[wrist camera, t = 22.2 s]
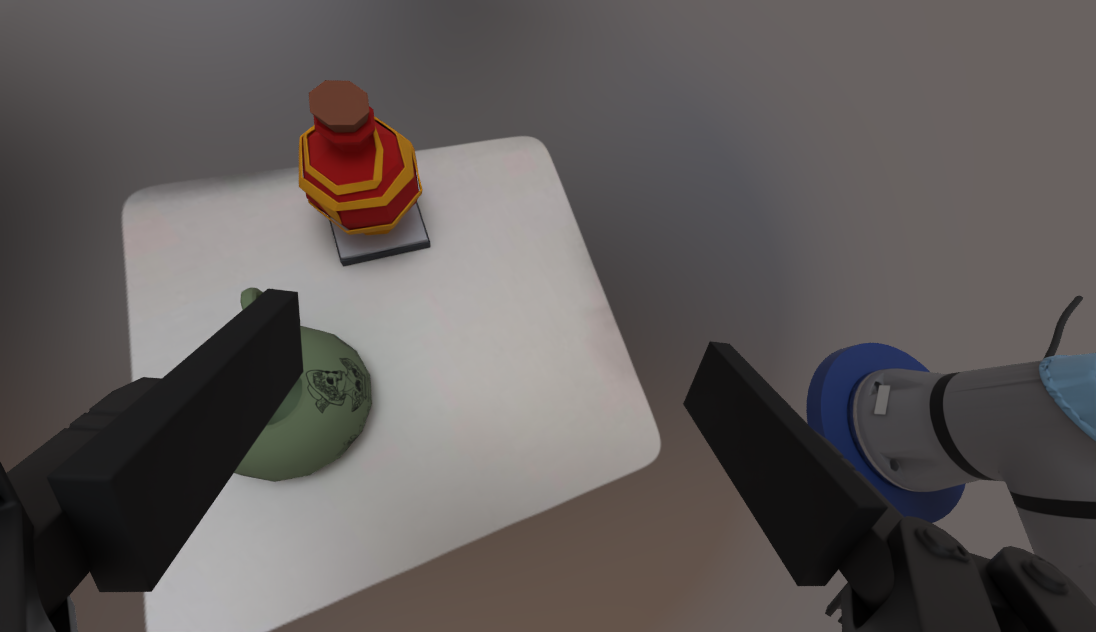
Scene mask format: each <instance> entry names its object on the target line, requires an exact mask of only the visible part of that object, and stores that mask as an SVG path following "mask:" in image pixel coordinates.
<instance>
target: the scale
mask: <svg viewBox="0 0 1096 632" xmlns="http://www.w3.org/2000/svg"><path fill="white" fill-rule="evenodd" d="M328 217H329V218H331V217H330V216H328ZM331 219H332V220H333V221H334V222H336V223H337V224H338V225H339V226H341V227H342V228H343V229H345V230H346V231H348V229H347V228H345V227H344V226H343V225H341V224H340V223H338V222H337V221H335V220H334V219H333V218H331ZM330 224H331V228H332V232H333V235H334V239H335V243H336V247H337V250H338V254H339V258H340V262H341V263H342V265H343V266H346V265H351V264H355V263H360V262H365V261H369V260H374V259H378V258H383V257H387V256H392V255H396V254H401V253H405V252H410V251H415V250H419V249H424V248H428V247H430V241H429V238H428V234H427V231H426V228H425V225H424V222H423V219H422V216H421V213H420V210H419V206H418V203H417V202H416V203H415V204H414V205H413V206H412V207H411V208H410V210H409V211H408V212H407V213H406V214H405V215H404V216H403V217H402V218H401V220H400V221H399V222H398V223H397V224H396V226H395V227H394V228H393V229H392V230H391V231H390V232H389V233H388V234H377V235H365V234H364V233H360V234H352V235H349V234H347V233H346V232H344V231H343V230H342V229H341V228H339V227H338V226H337V225H336V224H334V223H333V222H332V221H330Z"/></svg>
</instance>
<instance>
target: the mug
mask: <svg viewBox="0 0 1096 632" xmlns="http://www.w3.org/2000/svg"><path fill="white" fill-rule="evenodd" d="M262 293H263V292H262V291H260V290H259V289H257V288H248V289H246V290H244V291H243V292H242V293H241V305H242V309H243V310H244V309H245V308H246V307H247V306H248V305H249V304H251V303H252V302H253V301H254V300H255V299H257V298H258V297H259V296H260V295H261V294H262ZM300 330H301V343H302V357H303V370H304V372H303V373H302V374H301V376H300V377H299V379H298V380H297V382H296V383H295V385H294V386H293V388H292V389H291V390H290V392H289V393H288V395H287V396H286V398H285V399H284V401H283V402H282V403H281V405H280V406H279V408H278V409H277V411H276V412H275V414H274V415H273V417H272V418H271V419H270V421H269V422H268V424H267V425H266V427H265V428H264V430H263V431H262V432H261V434H260V435H259V437H258V438H257V440H256V441H255V443H254V444H253V445H252V447H251V448H250V450H249V451H248V453H247V454H246V456H245V457H244V459H243V460H242V461H241V463H240V464H239V466H238V467H237V469H236V470H235V472H234V473H236V474H239V475H243V476H248V477H253V478H258V479H263V480H269V481H274V482H276V481H281V480H286V479H292V478H297V477H303V476H308V475H311V474H312V473H314V472H316V471H318V470H319V469H321V468H323V467H324V466H326V465H328V464H329V463H331V462H333V461H335V460H336V459H338V458H340V457H341V455H342V454H343V453H344V452H345V451H346V450H347V448H348V447H349V446H350V445H351V444H352V443H353V441H354V440H355V439H356V438H357V437H358V435H359V434H360V433H361V432H362V430H363V427H364V424H365V421H366V419H367V416H368V413H369V410H370V407H371V404H372V401H371V386H370V374H369V373H368V371H367V369H366V367H365V365H364V363H363V362H362V360H361V358H360V356H359V354H358V353H357V351H356V350H354V349H353V348H352V347H350V346H349V345H348V344H346V343H345V342H344V341H342V340H341V339H340V338H338V337H337V336H336V335H334V334H331V333H327V332H323V331H319V330H315V329H311V328H307V327H303V326H300Z"/></svg>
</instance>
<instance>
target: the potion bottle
mask: <svg viewBox="0 0 1096 632" xmlns="http://www.w3.org/2000/svg"><path fill="white" fill-rule="evenodd" d="M309 103H310V112H311V113H312V114H313V115H314V126H313V127H311V128H310V129H309V130H308V131H306V132H305V133H304V134H303V135H301V136H300V141H299V187H300V188H301V189H302V190H303V191H305V192H306V197H307V199H308V203H310V204H311V205H312V206H313V207H314V208H315V209H317V210H318V211H319V212H320V213H322V214H323V215H324V216H325V217H327V218H328V219H329V220H330V221H332V222H333V223H334V224H336V225H337V226H338V227H339V228H341V229H342V230H343V231H344V232H346V233H347V234H349V235H352V234H360V233H364V234H365V235H377V234H388V233H389V232H390V231H391V230H392V229H393V228H394V227H395V226H396V224H397V223H398V222H399V221H400V220H401V218H402V217H403V216H404V215H405V214H406V213H407V212H408V211H409V210H410V208H411V207H412V206H413V205H414V204H415V203H416V202H417V199H418V198H419V196H420V195H421V194H422V186H421V182H420V178H419V174H418V168H417V162H416V156H415V150H414V148H413V146H412V144H411V142H410V141H409V140H407V139H406V138H405V137H403V136H402V135H401V134H399V133H398V132H397V131H396V130H394V129H393V128H391V127H389V126H388V125H387V124H385V123H384V122H382V121H380V120H379V119H378V118H376V117H374V112H373V109H372V108H371V107H369V103H368V95H367V93H366V92H364V91H363V90H361V89H360V88H359V87H357V86H356V85H354V84H353V83H352V82H350V81H329V80H328V81H327V80H325V81H324V82H323V83H321V84H320V85H319V86H317V87H316V88H315V89H313V90H312V91H311V92H309ZM302 159H303V175H304V178H303V175H302ZM416 172H417V175H416ZM417 176H418V182H419V188H420V191H419V189H418V182H417ZM319 209H320V210H319ZM322 211H323V212H324V213H325V214H324V213H323V212H322ZM326 214H327V215H328V216H330V217H331V218H333V219H334V220H335V221H337V222H338V223H340V224H341V225H343V226H344V227H345V228H347V229H348V231H346V230H345V229H343V228H342V227H341V226H339V225H338V224H337V223H336V222H334V221H333V220H332V219H331V218H329V217H328V216H327V215H326Z"/></svg>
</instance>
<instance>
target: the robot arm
mask: <svg viewBox="0 0 1096 632" xmlns="http://www.w3.org/2000/svg"><path fill="white" fill-rule="evenodd" d="M1082 299H1083V297H1081V296H1077V297H1075V298H1074V300H1073V301H1072V302H1071V303H1070V304H1069V306H1068V307H1067V308H1066V309H1065V311H1064V312H1063V313H1062V315H1061V317H1060V319H1059V321H1058V323H1057V326H1056V328H1055V332H1054V335H1053V339H1052V342H1051V344H1050V347H1049V349H1048V351H1047V353H1046V355H1045V357H1044V359H1043V361H1036V362H1029V363H1021V364H1014V365H1008V366H1000V367H993V368H985V369H978V370H971V371H965V372H958V373H951V374H939V373H931V372H923V371H915V370H907V369H882V370H877V371H872V372H869V373H867V374H865V375H863V376H862V377H861V378H860V379H858V381H857V382H856V383H855V384H854V386H853V388H852V390H851V392H850V395H849V399H848V406H847V418H848V425H849V430H850V434H851V437H852V440H853V442H854V445H855V447H856V449H857V451H858V453H859V455H860V456H861V458H862V459H863V461H864V462H865V463H866V465H867V466H868V467H869V468H870V470H871V471H872V472H873V473H874V474H875V475H876V476H878V477H879V478H880V479H881V480H883V481H884V482H885V483H887V484H889V485H891V486H893V487H895V488H897V489H901V490H905V491H915V492H931V491H938V490H942V489H945V488H949V487H953V486H957V485H961V484H965V483H969V482H973V481H977V480H995V481H996V480H997V481H1005V482H1006V484H1007V487H1008V489H1009V491H1010V493H1011V496H1012V498H1013V501H1014V504H1015V505H1016V508H1017V510H1018V513H1019V516H1020V518H1021V520H1022V523H1023V526H1024V528H1025V531H1026V533H1027V536H1028V538H1029V541H1030V544H1031V546H1032V549H1033V551H1034V553H1035V555H1034V554H1032V553H1030V552H1028V551H1026V550H1023V549H1020V548H1016V547H1012V546H1009V547H1004V548H1003V549H1002V550H1000V552H998V553H997V554H996V555H995V556H994V557H993V558H992V559H987V558H984V557H981V556H977V555H975V554H971V553H969V552H968V551H967V550H966V549H965V548H964V547H963V546H962V545H961V544H960V543H959V542H958V541H957V540H956V539H955V538H953V537H952V536H951V535H949V534H948V533H947V532H946V531H944V530H943V529H941V528H939V527H937V526H936V525H934V524H932V523H931V522H928V521H926V520H923V519H921V518H918V517H911V516H906V517H904V516H903V515H902V514H901V513H900V512H899V511H898V510H897V509H896V508H895V507H894V506H893V505H892V504H891V503H890V502H889V501H888V500H887V499H886V498H885V497H884V496H883V495H882V494H881V493H880V492H879V491H878V490H877V489H876V488H875V487H874V486H873V485H872V484H871V483H870V482H869V481H868V480H867V479H866V478H865V477H864V476H863V475H862V474H861V473H860V472H859V471H856V468H855V467H854V466H853V464H852V463H851V462H850V461H849V460H848V459H844V455H843V454H842V453H841V452H840V451H839V450H838V449H837V448H836V447H835V446H834V445H833V444H832V443H831V442H830V441H828V440H827V439H826V438H824V437H823V436H821V435H820V434H819V433H817V432H816V431H814V430H813V429H812V428H811V427H810V426H809V425H808V424H807V423H806V422H805V421H804V420H803V419H802V418H801V417H800V416H799V415H798V414H797V413H796V412H795V411H794V410H793V409H792V408H791V407H790V406H789V405H788V403H787V402H786V401H785V400H784V399H783V398H781V396H780V395H779V394H778V393H777V392H776V391H775V390H774V389H773V388H772V387H771V386H770V385H769V384H768V383H767V382H766V381H765V380H764V379H763V378H762V377H761V376H760V375H759V374H758V373H757V372H756V371H755V370H754V369H753V368H752V367H751V366H750V364H749V363H748V362H747V361H746V360H745V359H744V358H743V357H741V355H740V354H739V353H738V352H737V351H736V350H735V349H734V348H733V347H732V346H731V345H730V344H727V343H718V342H709V345H708V347H707V350H706V352H705V354H704V357H703V359H702V361H701V363H700V366H699V368H698V370H697V373H696V375H695V378H694V380H693V382H692V385H691V387H690V389H689V392H688V394H687V396H686V399H685V401H684V403H683V404H684V406H685V408H686V409H687V411H688V412H689V414H690V415H691V417H692V419H693V420H694V422H695V423H696V425H697V427H698V428H699V430H700V431H701V433H702V435H703V436H704V438H705V439H706V441H707V443H708V444H709V446H710V447H711V449H712V450H713V452H714V454H715V455H716V457H717V458H718V460H719V462H720V463H721V465H722V466H723V468H724V469H725V471H726V473H727V474H728V476H729V478H730V479H731V481H732V482H733V484H734V485H735V487H736V489H737V490H738V492H739V493H740V495H741V497H742V498H743V500H744V501H745V503H746V505H747V506H748V508H749V509H750V511H751V513H752V514H753V516H754V517H755V519H756V520H757V522H758V524H759V525H760V527H761V528H762V530H763V532H764V533H765V535H766V536H767V538H768V539H769V541H770V543H771V544H772V546H773V548H774V549H775V551H776V552H777V554H778V555H779V557H780V559H781V560H782V562H783V563H784V565H785V567H786V568H787V570H788V571H789V573H790V574H791V576H792V578H793V579H794V581H795V582H796V584H797V586H825V585H826V584H827V583H828V582H829V580H830V579H831V578H832V576H833V575H834V574H835V573H836V572H837V570H838V569H839V570H840V572H841V573H842V574H843V576H844V577H845V578H846V580H847V581H848V583H847V584H846V585H845V586H844V588H843V589H842V590H841V591H840V592H839V593H838V595H837V596H836V597H835V598H834V599H833V601H832V602H831V603H830V604H829V605H828V606H827V609H826V612H825V614H827V615H828V616H831V615H832V614H833V613H834V612H835V611H836V609H842V616H841V617H840V619H839V620H838V622H839V623H841V624H842V632H1096V353H1092V354H1082V355H1073V356H1067V355H1056V356H1054V355H1055V353H1056V350H1057V348H1058V345H1059V343H1060V339H1061V336H1062V332H1063V329H1064V326H1065V323H1066V321H1067V320H1068V318H1069V316H1070V315H1071V313H1072V312H1073V310H1074V309H1075V308H1076V307H1077V306H1078V304H1079V303H1080V302H1081V301H1082ZM303 372H304V370H303V357H302V343H301V330H300V316H299V302H298V292H292V291H284V290H275V289H267V290H266V291H265V292H264V293H262V294H261V295H260V296H259V297H258V298H257V299H255V300H254V301H253V302H252V303H251V304H249V305H248V306H247V307H246V308H245V309H244V310H242V311H241V312H240V313H239V314H238V315H236V316H235V317H234V318H233V319H232V320H231V321H229V322H228V323H227V324H226V325H225V326H224V327H222V328H221V329H220V330H219V331H218V332H216V333H215V334H214V335H213V336H212V337H211V338H209V339H208V340H207V341H206V342H205V343H203V344H202V345H201V346H200V347H199V348H198V349H196V350H195V351H194V352H193V353H192V354H191V355H189V356H188V357H187V358H186V359H185V360H183V361H182V362H181V363H180V364H179V365H178V366H176V367H175V368H174V369H173V370H172V371H170V372H169V373H168V374H167V375H166V376H165V377H163V378H162V379H160V378H147V377H143V378H140V379H138V380H136V381H134V382H132V383H130V384H128V385H125V386H123V387H121V388H119V389H117V390H114V391H112V392H111V393H110V394H108V395H107V396H106V397H105V398H103V399H102V400H101V401H99V402H98V403H97V404H96V405H94V406H93V407H92V408H90V411H89V412H88V413H84V414H83V415H81V416H80V417H79V418H77V419H76V420H75V421H74V422H72V423H71V424H70V427H69V428H68V429H67V428H64V429H63V430H62V431H60V432H59V433H58V434H57V435H55V436H54V437H53V438H51V439H50V440H49V441H48V442H46V443H45V444H44V445H43V446H41V447H40V448H38V449H37V450H36V451H35V452H33V453H32V454H31V455H29V456H28V457H27V458H25V459H24V460H23V461H22V462H20V463H19V464H18V465H16V466H15V467H14V468H13V469H11V470H10V471H9V472H7V473H6V472H5V470H4V468H3V466H2V464H1V462H0V632H78V630H77V621H76V613H75V606H74V603H73V602H72V600H71V598H70V596H69V595H70V594H71V593H72V592H73V590H74V589H75V588H76V587H77V586H78V585H79V583H80V582H81V581H82V580H83V579H84V578H85V576H86V575H87V574H88V573H89V572H90V573H91V575H92V577H93V579H94V581H95V583H96V586H97V588H98V589H99V592H152V590H153V589H154V587H155V586H156V585H157V583H158V582H159V580H160V579H161V577H162V576H163V574H164V573H165V572H166V570H167V569H168V567H169V566H170V564H171V563H172V561H173V560H174V558H175V557H176V556H177V554H178V553H179V551H180V550H181V548H182V547H183V545H184V544H185V543H186V541H187V540H188V538H189V537H190V535H191V534H192V532H193V531H194V530H195V528H196V527H197V525H198V524H199V522H200V521H201V519H202V518H203V516H204V515H205V514H206V512H207V511H208V509H209V508H210V506H211V505H212V503H213V502H214V501H215V499H216V498H217V496H218V495H219V493H220V492H221V490H222V489H223V487H224V486H225V485H226V483H227V482H228V480H229V479H230V477H231V476H232V474H233V473H234V472H235V470H236V469H237V467H238V466H239V464H240V463H241V461H242V460H243V459H244V457H245V456H246V454H247V453H248V451H249V450H250V448H251V447H252V445H253V444H254V443H255V441H256V440H257V438H258V437H259V435H260V434H261V432H262V431H263V430H264V428H265V427H266V425H267V424H268V422H269V421H270V419H271V418H272V417H273V415H274V414H275V412H276V411H277V409H278V408H279V406H280V405H281V403H282V402H283V401H284V399H285V398H286V396H287V395H288V393H289V392H290V390H291V389H292V388H293V386H294V385H295V383H296V382H297V380H298V379H299V377H300V376H301V374H302V373H303Z"/></svg>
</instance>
